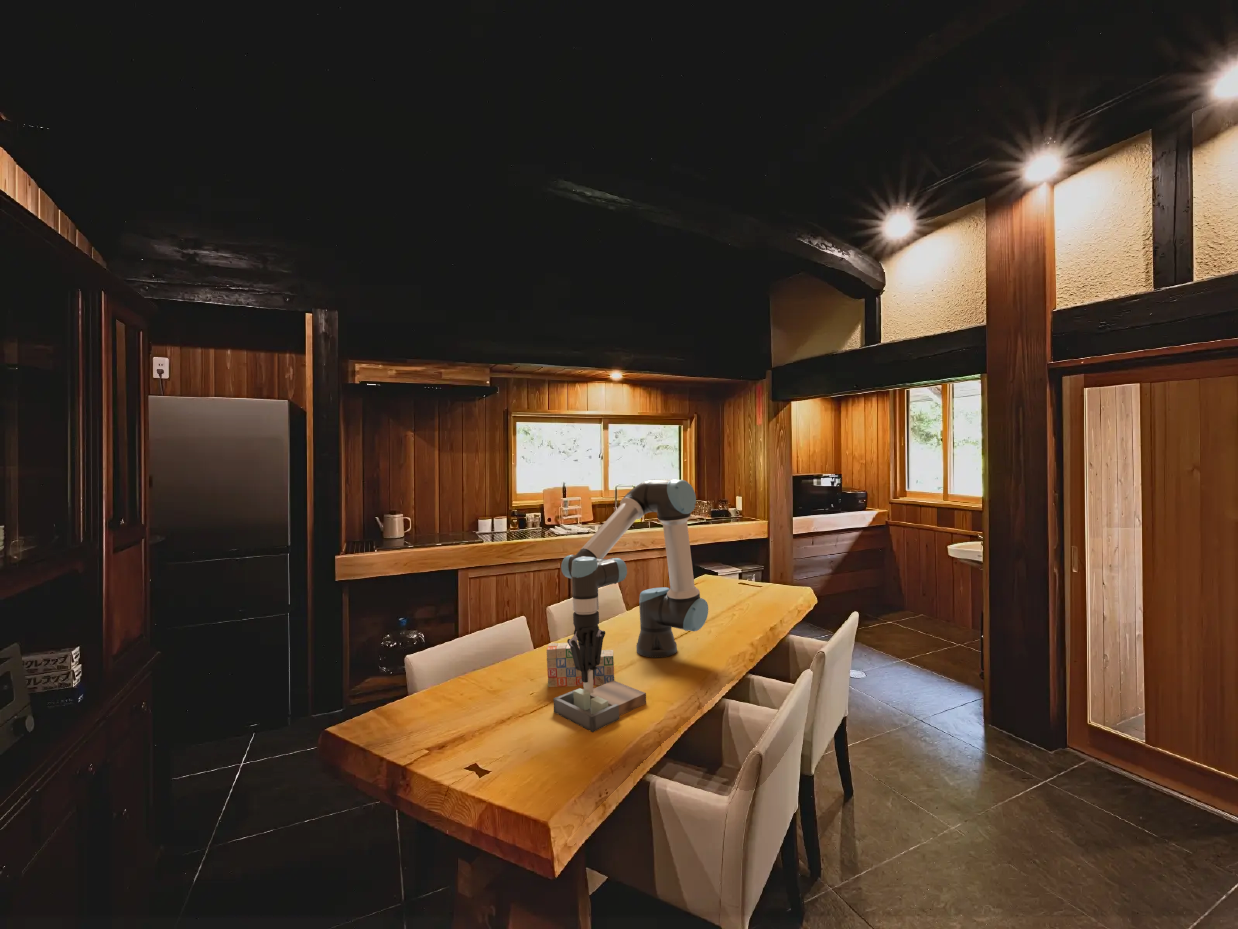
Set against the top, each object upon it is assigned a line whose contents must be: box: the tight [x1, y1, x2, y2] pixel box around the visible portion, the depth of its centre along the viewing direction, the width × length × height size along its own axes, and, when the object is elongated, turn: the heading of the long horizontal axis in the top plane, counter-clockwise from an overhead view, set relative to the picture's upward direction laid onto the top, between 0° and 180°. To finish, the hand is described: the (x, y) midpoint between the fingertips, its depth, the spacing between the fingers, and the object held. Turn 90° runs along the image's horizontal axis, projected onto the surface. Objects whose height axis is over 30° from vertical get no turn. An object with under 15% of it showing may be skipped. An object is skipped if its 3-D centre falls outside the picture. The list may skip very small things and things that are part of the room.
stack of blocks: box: [546, 642, 615, 688], centre depth 177 cm, size 21×6×12 cm, turn 90°
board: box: [590, 679, 647, 717], centre depth 161 cm, size 12×14×3 cm
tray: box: [552, 688, 621, 733], centre depth 153 cm, size 10×17×4 cm, turn 43°
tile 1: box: [572, 687, 591, 710], centre depth 157 cm, size 4×4×2 cm
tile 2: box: [591, 696, 608, 714], centre depth 151 cm, size 4×4×2 cm
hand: (588, 692), depth 159 cm, fingers closed
